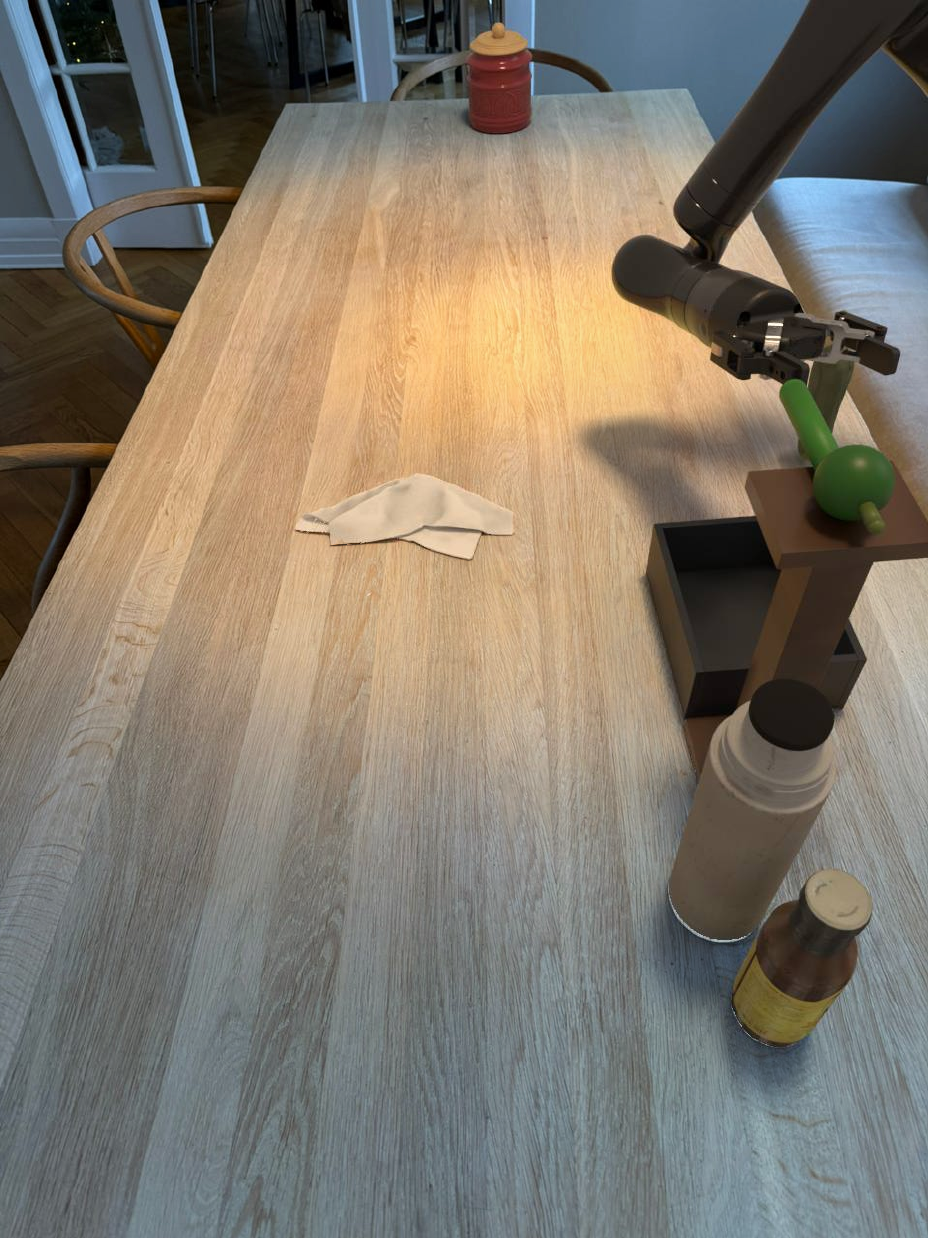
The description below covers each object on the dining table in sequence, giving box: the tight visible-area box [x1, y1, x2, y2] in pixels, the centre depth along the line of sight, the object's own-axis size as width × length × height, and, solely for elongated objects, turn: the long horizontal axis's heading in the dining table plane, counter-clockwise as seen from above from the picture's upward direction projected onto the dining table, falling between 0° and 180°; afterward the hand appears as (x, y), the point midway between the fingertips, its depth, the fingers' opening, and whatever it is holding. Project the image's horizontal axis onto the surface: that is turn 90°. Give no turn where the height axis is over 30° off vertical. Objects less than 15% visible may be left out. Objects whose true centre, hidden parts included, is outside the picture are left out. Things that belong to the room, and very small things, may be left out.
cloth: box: [294, 472, 515, 561], centre depth 106 cm, size 26×14×2 cm, turn 77°
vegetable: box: [797, 309, 855, 461], centre depth 101 cm, size 4×4×20 cm
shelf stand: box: [683, 460, 928, 783], centre depth 70 cm, size 10×8×32 cm
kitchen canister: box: [465, 22, 533, 134], centre depth 175 cm, size 13×13×18 cm
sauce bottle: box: [730, 868, 874, 1048], centre depth 61 cm, size 6×6×20 cm
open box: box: [645, 515, 868, 721], centre depth 89 cm, size 16×20×8 cm
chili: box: [778, 379, 895, 535], centre depth 59 cm, size 5×17×5 cm, turn 3°
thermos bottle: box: [668, 679, 837, 940], centre depth 63 cm, size 8×8×28 cm
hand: (850, 371), depth 71 cm, fingers open, 8 cm apart
